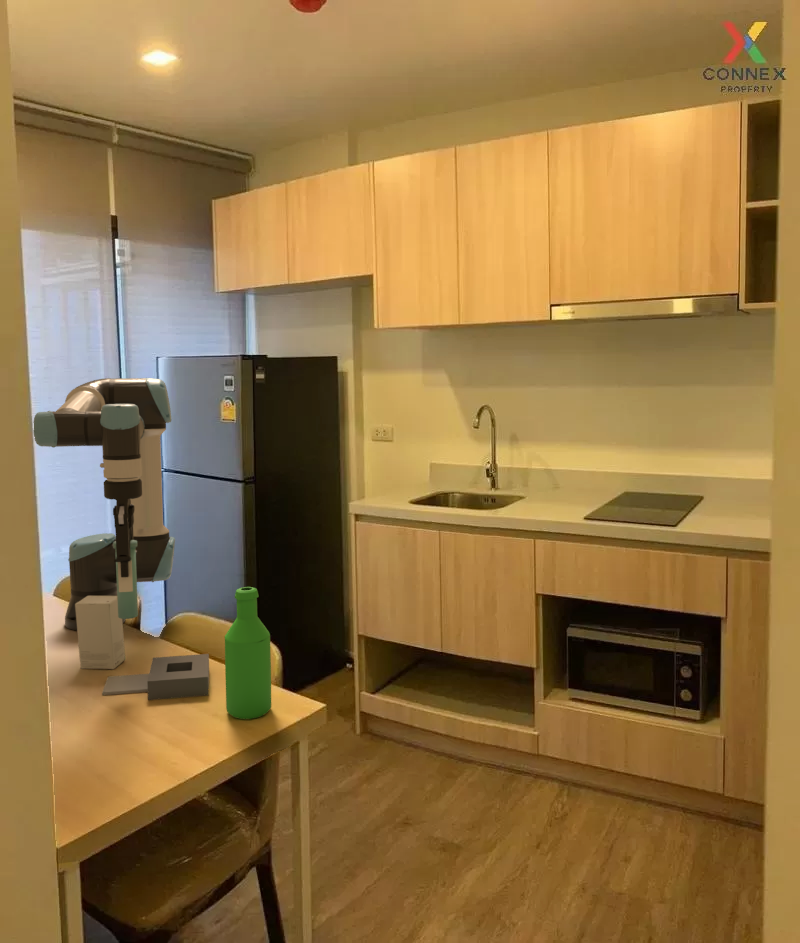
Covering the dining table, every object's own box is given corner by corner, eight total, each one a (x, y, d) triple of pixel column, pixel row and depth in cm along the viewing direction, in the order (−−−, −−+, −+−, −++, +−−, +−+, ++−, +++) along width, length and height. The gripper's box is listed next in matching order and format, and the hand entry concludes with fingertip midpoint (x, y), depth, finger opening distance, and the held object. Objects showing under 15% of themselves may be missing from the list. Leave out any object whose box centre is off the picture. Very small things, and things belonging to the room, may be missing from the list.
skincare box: (125, 660, 190) (123, 595, 188) (113, 670, 183) (110, 603, 181) (91, 659, 191) (88, 594, 189) (77, 669, 184) (74, 602, 182)
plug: (117, 613, 175) (114, 540, 173) (140, 611, 176) (138, 539, 174) (114, 620, 170) (111, 545, 168) (139, 618, 171) (136, 544, 169)
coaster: (108, 679, 178) (107, 676, 178) (151, 676, 180) (150, 673, 180) (102, 695, 169) (102, 692, 169) (147, 691, 171) (147, 689, 171)
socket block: (153, 675, 181) (152, 657, 180) (209, 671, 183) (208, 653, 183) (148, 700, 167) (147, 681, 167) (208, 695, 170) (207, 676, 169)
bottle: (263, 699, 168) (261, 581, 164) (277, 715, 160) (275, 591, 157) (221, 707, 164) (218, 586, 160) (233, 724, 156) (230, 597, 153)
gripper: (108, 473, 177) (112, 578, 180) (98, 485, 160) (103, 600, 163) (144, 472, 178) (148, 577, 181) (138, 484, 162) (142, 598, 165)
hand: (127, 588), depth 172 cm, fingers closed on plug, 4 cm apart
